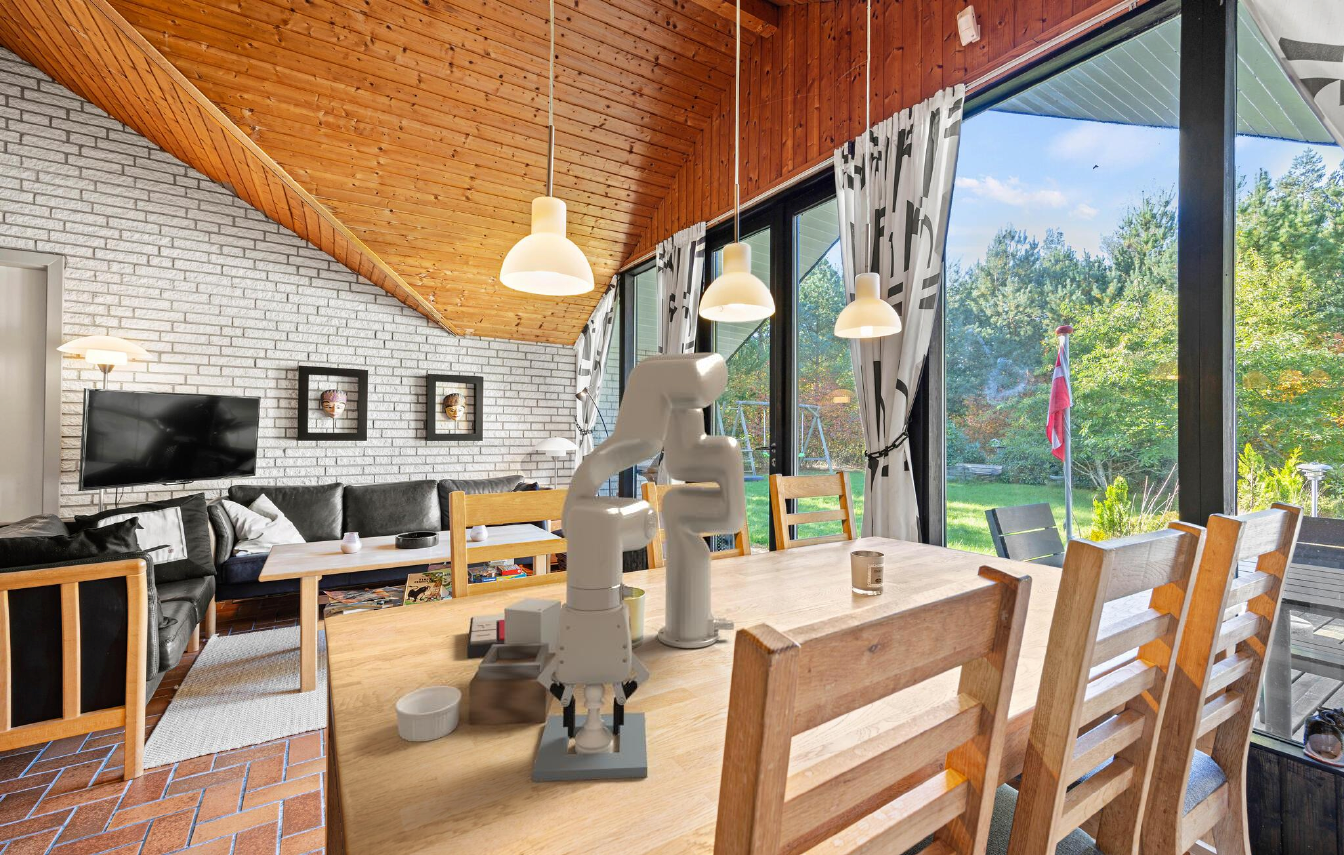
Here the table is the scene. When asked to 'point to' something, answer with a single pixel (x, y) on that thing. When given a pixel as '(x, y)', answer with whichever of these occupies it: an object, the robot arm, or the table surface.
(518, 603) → the supplement box
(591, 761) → the board
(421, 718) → the ramekin
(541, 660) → the riser socket
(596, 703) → the chess pawn
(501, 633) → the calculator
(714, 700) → the table surface
